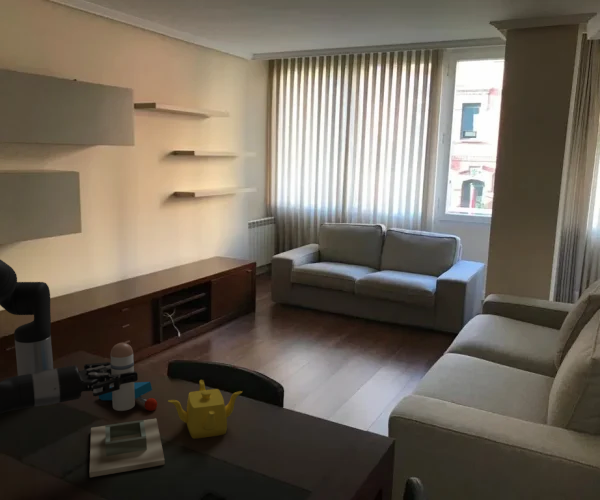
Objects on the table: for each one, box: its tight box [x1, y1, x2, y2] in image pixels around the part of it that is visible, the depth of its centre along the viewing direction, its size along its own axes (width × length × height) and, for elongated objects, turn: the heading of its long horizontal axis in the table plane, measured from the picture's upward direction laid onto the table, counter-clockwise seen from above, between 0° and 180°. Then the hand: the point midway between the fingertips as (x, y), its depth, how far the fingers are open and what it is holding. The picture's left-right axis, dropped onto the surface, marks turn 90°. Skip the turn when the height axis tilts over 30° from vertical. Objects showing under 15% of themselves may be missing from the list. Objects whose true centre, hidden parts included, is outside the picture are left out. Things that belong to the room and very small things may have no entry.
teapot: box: [167, 379, 243, 440], centre depth 141 cm, size 15×14×10 cm
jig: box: [89, 417, 166, 478], centre depth 131 cm, size 20×16×4 cm
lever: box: [98, 381, 158, 412], centre depth 154 cm, size 7×7×18 cm
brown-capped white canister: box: [110, 342, 136, 412], centre depth 128 cm, size 5×5×16 cm
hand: (134, 371), depth 129 cm, fingers closed on brown-capped white canister, 5 cm apart
